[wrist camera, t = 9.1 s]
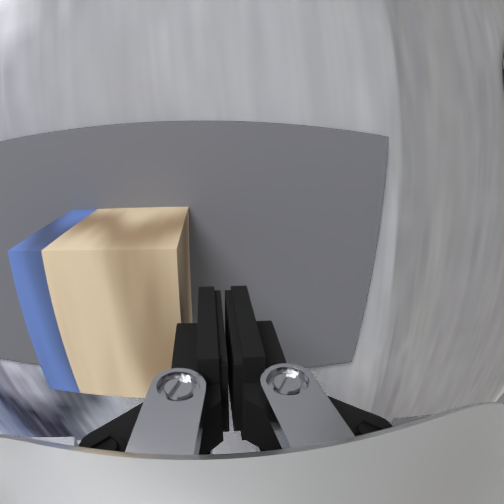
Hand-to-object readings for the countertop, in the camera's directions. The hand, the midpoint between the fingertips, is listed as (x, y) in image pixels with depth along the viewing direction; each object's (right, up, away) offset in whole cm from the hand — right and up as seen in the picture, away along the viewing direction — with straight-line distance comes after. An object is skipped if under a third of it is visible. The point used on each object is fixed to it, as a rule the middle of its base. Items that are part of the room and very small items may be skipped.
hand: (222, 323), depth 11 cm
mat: (-5, +2, +5) cm, 7 cm away
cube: (-2, +1, +2) cm, 3 cm away
